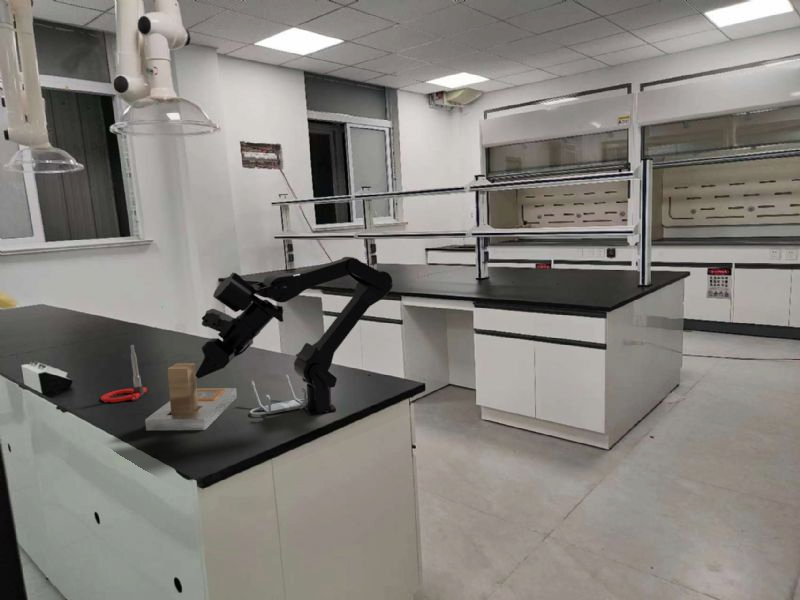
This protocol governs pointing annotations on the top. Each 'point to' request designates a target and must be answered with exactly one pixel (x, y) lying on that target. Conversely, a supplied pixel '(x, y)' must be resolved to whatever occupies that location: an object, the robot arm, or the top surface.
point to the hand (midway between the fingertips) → (204, 371)
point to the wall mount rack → (280, 406)
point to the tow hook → (136, 391)
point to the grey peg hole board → (208, 411)
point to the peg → (183, 389)
